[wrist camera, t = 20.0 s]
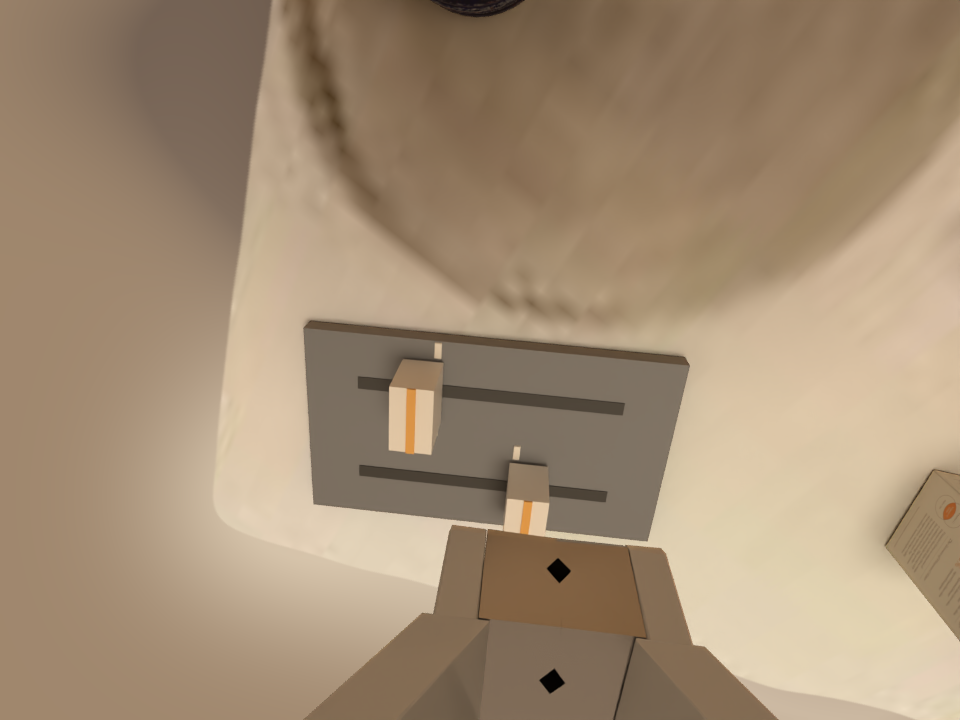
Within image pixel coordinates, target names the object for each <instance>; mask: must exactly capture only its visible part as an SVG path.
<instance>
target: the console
mask: <svg viewBox="0 0 960 720" xmlns="http://www.w3.org/2000/svg"><path fill="white" fill-rule="evenodd" d="M304 345H305V362H306V380H307V397H308V414H309V432H310V449H311V467H312V484H313V501H314V504H317V505H325V506H334V507H343V508H352V509H361V510H370V511H379V512H388V513H397V514H406V515H415V516H424V517H433V518H442V519H451V520H460V521H469V522H478V523H487V524H495V525H503V522H504V510H505V501H506V492H507V483H508V473H509V464H510V463H517V464H526V465H535V466H545V467H548V478H549V510H548V517H547V523H546V530H549V531H558V532H567V533H576V534H585V535H594V536H603V537H612V538H621V539H630V540H639V541H648V538H649V533H650V529H651V525H652V521H653V517H654V513H655V508H656V504H657V500H658V496H659V492H660V488H661V484H662V479H663V475H664V471H665V467H666V463H667V459H668V454H669V450H670V446H671V442H672V438H673V434H674V429H675V425H676V421H677V417H678V413H679V409H680V405H681V400H682V396H683V392H684V388H685V384H686V380H687V375H688V371H689V367H690V365H689V363H688V362H687V360H686V358H685V357H678V356H667V355H657V354H647V353H636V352H626V351H616V350H605V349H595V348H585V347H574V346H564V345H554V344H544V343H533V342H523V341H513V340H502V339H492V338H482V337H471V336H461V335H451V334H440V333H430V332H420V331H410V330H399V329H389V328H379V327H368V326H358V325H348V324H337V323H327V322H317V321H310V322H309V323H308V324H307V325H306V326H305V327H304ZM403 359H409V360H419V361H429V362H440V363H444V364H443V385H442V405H441V423H440V426H439V430H438V433H437V437H436V440H435V444H434V447H433V451H432V454H431V455H428V454H419V453H414V454H407V453H405V452H400V451H391V450H389V386H390V384H391V382H392V380H393V378H394V376H395V374H396V372H397V370H398V368H399V366H400V364H401V362H402V360H403Z"/></svg>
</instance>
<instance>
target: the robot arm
mask: <svg viewBox="0 0 960 720" xmlns="http://www.w3.org/2000/svg"><path fill="white" fill-rule="evenodd" d="M486 531H487V530H485V529H480V528H472V527H465V526H457V525H452V527H451V529H450V531H449V535H448V541H447V546H446V551H445V556H444V561H443V566H442V571H441V577H440V582H439V587H438V592H437V598H436V603H435V608H434V613H433V614H428V613H422V614H421V615H419V616H418V617H417V618H416V619H415V620H414V621H413V622H412V623H410V624H409V625H408V626H407V627H406V628H405V629H404V630H403V631H401V633H399V634H398V635H397V636H396V637H395V638H394V639H393V640H391V641H390V642H389V643H388V644H387V645H386V646H385V647H384V648H383V649H381V650H380V651H379V652H378V653H377V654H376V655H375V656H374V657H373V658H371V659H370V660H369V661H368V662H367V663H366V664H365V665H364V666H363V667H362V668H360V669H359V670H358V671H357V672H356V673H355V674H354V675H353V676H351V677H350V678H349V679H348V680H347V681H346V682H345V683H344V684H343V685H341V686H340V687H339V688H338V689H337V690H336V691H335V692H334V693H332V694H331V695H330V696H329V697H328V698H327V699H326V700H325V701H324V702H322V703H321V704H320V705H319V706H318V707H317V708H316V709H315V710H314V711H312V712H311V713H310V714H309V715H308V716H307V717H306V718H305V719H303V720H778V719H777V718H776V717H775V716H774V715H773V714H772V713H771V712H770V711H769V710H768V709H767V708H766V707H765V706H764V705H763V704H762V703H761V702H760V701H759V700H758V699H757V698H756V697H755V696H754V695H753V694H752V693H751V692H750V691H749V690H748V689H747V688H746V687H745V686H744V685H743V684H742V683H741V682H740V681H739V680H738V679H737V678H736V677H735V676H734V675H733V674H732V673H731V672H730V671H729V670H728V669H727V668H726V667H725V666H724V665H723V664H722V663H721V662H720V661H719V660H718V659H717V658H716V657H715V656H714V655H713V654H712V653H711V652H710V651H709V650H708V649H707V648H706V647H703V646H695V645H693V643H692V640H691V636H690V633H689V630H688V626H687V623H686V620H685V616H684V613H683V609H682V606H681V603H680V599H679V596H678V593H677V589H676V586H675V583H674V579H673V576H672V573H671V569H670V566H669V562H668V559H667V556H666V553H665V552H664V551H663V550H662V549H661V548H653V547H642V546H631V545H625V546H623V545H613V544H604V543H595V542H585V541H576V540H566V539H557V538H550V537H543V536H536V535H528V534H521V533H514V532H506V531H499V530H492V529H488V531H487V539H486ZM485 543H486V548H485ZM484 554H485V557H484Z"/></svg>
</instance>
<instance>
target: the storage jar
mask: <svg viewBox="0 0 960 720" xmlns="http://www.w3.org/2000/svg"><path fill="white" fill-rule="evenodd" d="M431 1H432V2H434V3H436V4H438V5H440V6H441V7H443V8H445V9H447V10H449V11H451V12H454V13H457V14H460V15H464V16H471V17H485V16H492V15H496V14H500V13H503V12H505V11H507V10H509V9H512V8H514V7H515V6H517V5H518V4H520V3H521V2H523V1H524V0H431Z"/></svg>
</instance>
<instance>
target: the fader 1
mask: <svg viewBox="0 0 960 720" xmlns="http://www.w3.org/2000/svg"><path fill="white" fill-rule="evenodd" d="M443 364H444V363H440V362H429V361H419V360H409V359H403V360H402V362H401V364H400V366H399V368H398V370H397V372H396V374H395V376H394V378H393V380H392V382H391V384H390V386H389V450H391V451H400V452H405V453H407V454H414V453H419V454H428V455H431V454H432V451H433V447H434V444H435V440H436V437H437V433H438V430H439V426H440V423H441V405H442V385H443Z"/></svg>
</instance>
